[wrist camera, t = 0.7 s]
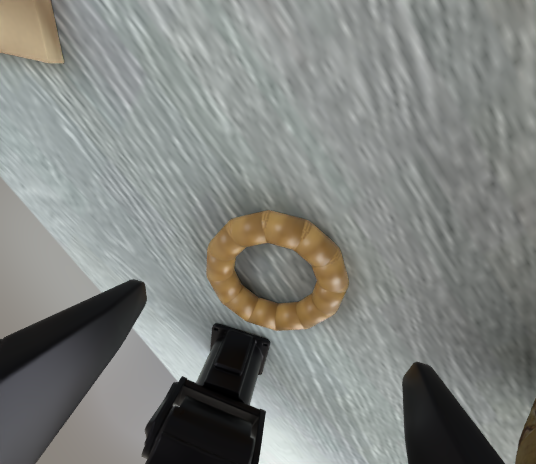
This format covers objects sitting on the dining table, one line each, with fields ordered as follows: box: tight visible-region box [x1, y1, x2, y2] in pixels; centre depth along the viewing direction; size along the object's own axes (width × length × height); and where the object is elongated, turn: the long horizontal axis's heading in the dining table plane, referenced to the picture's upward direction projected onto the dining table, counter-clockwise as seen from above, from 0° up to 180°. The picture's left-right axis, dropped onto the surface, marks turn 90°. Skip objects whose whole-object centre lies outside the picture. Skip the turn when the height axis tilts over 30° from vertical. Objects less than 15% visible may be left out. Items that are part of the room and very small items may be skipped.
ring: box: [206, 210, 349, 331], centre depth 23 cm, size 12×12×2 cm
